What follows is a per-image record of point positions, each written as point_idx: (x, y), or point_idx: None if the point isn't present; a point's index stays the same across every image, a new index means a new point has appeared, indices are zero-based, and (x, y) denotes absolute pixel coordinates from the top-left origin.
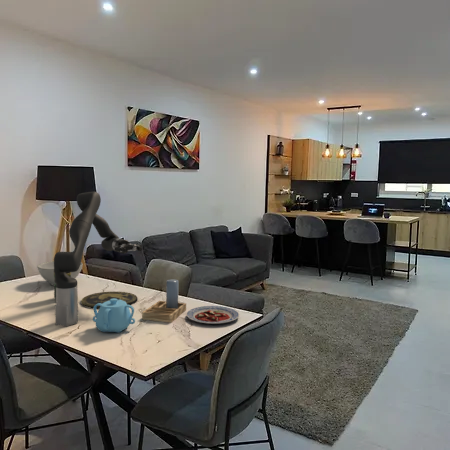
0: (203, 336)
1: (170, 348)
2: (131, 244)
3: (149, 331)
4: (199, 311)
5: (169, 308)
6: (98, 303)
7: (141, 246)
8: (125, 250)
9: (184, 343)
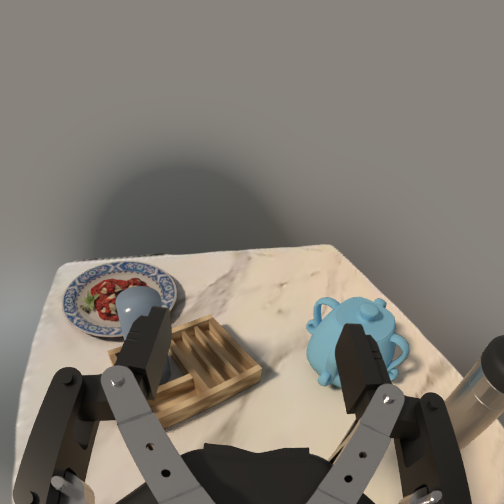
0: (208, 264)
1: (278, 264)
2: (178, 460)
3: (279, 318)
4: (111, 327)
5: (176, 350)
6: (402, 339)
7: (74, 377)
8: (342, 337)
9: (250, 264)
